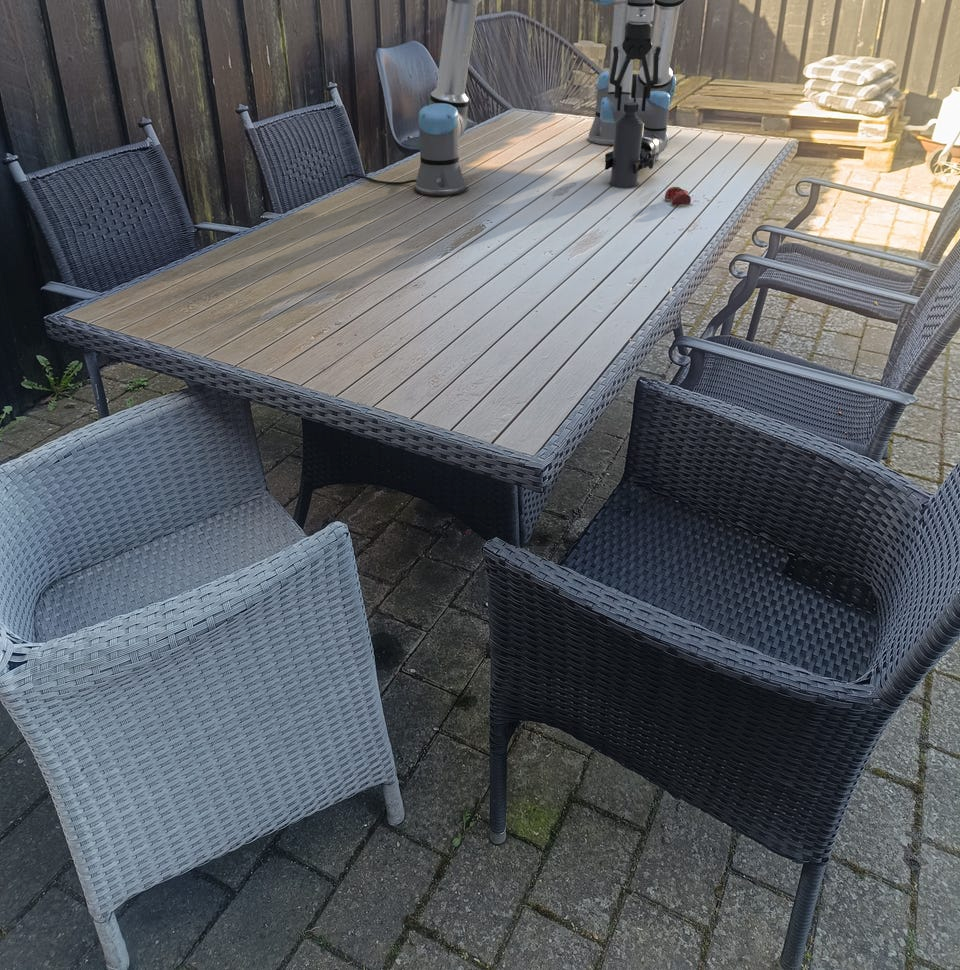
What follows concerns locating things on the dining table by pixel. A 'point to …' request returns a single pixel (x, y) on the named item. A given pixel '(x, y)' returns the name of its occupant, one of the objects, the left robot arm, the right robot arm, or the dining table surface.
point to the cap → (631, 107)
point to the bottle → (626, 150)
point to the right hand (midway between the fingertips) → (620, 167)
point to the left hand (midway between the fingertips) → (630, 109)
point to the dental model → (677, 196)
